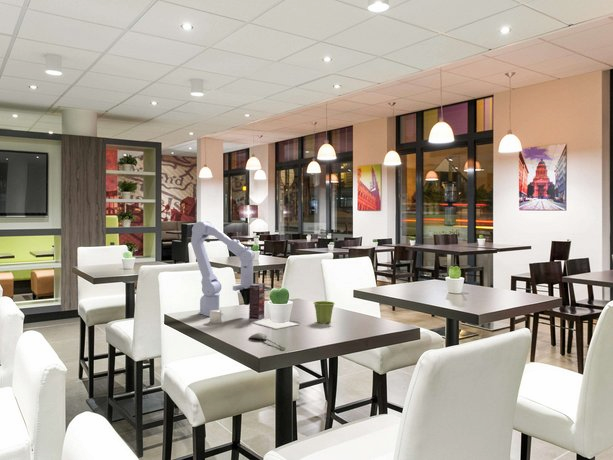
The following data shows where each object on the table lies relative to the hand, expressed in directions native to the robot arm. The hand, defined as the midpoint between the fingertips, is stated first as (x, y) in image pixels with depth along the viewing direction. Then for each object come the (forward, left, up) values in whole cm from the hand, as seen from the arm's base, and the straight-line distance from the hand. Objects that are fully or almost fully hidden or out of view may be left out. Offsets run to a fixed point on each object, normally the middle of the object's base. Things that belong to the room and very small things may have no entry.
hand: (246, 304), depth 227 cm
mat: (+21, 0, -5) cm, 22 cm away
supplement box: (+8, 0, -6) cm, 10 cm away
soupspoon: (+44, -23, -6) cm, 50 cm away
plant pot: (+32, +19, -6) cm, 38 cm away
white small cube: (+2, -18, -6) cm, 19 cm away
